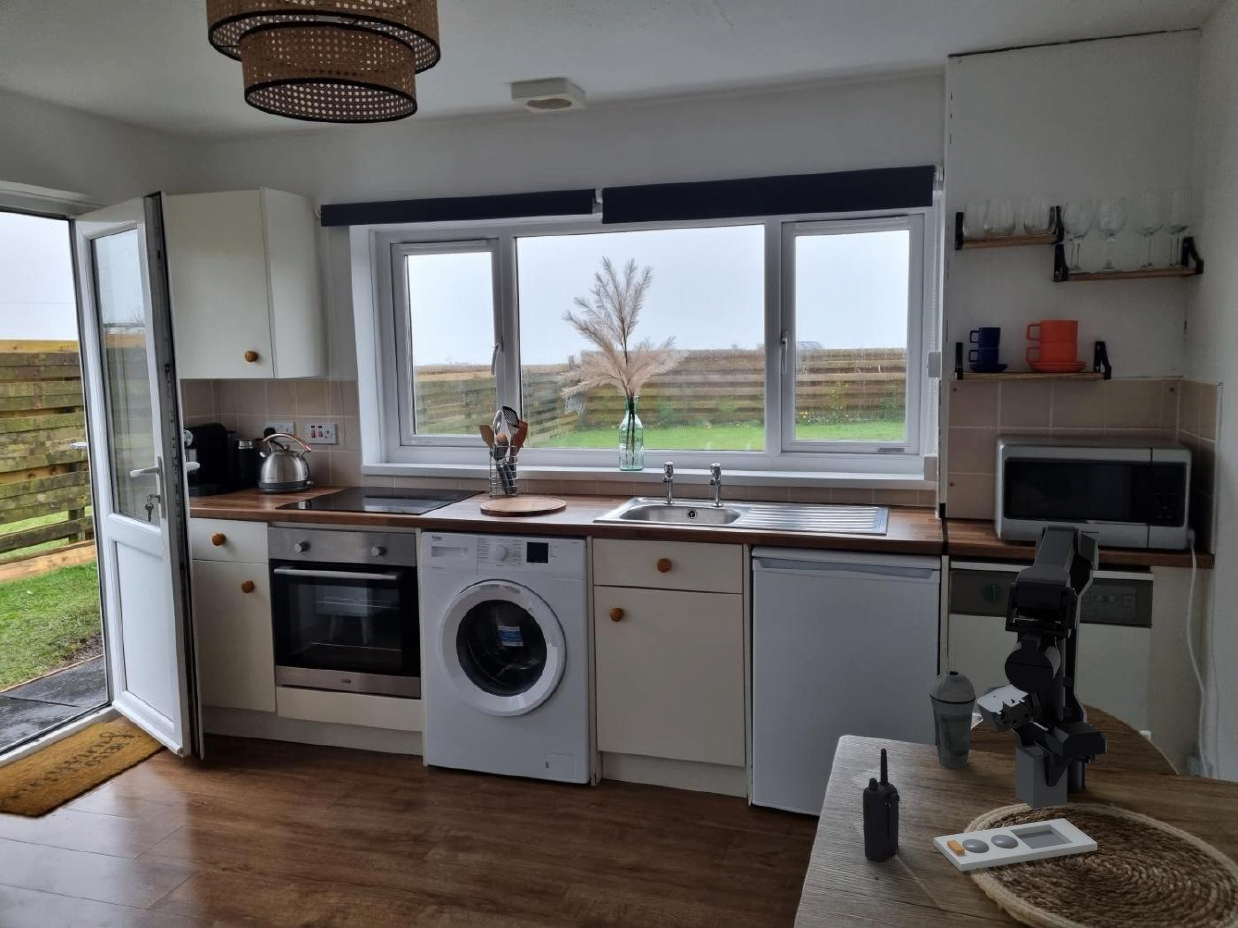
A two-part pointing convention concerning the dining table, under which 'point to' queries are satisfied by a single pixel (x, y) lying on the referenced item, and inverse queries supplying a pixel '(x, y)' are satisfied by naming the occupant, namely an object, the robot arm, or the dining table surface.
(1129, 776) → the dining table surface
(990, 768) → the dining table surface
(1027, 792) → the block
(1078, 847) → the power strip
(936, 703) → the beverage cup
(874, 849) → the two-way radio
